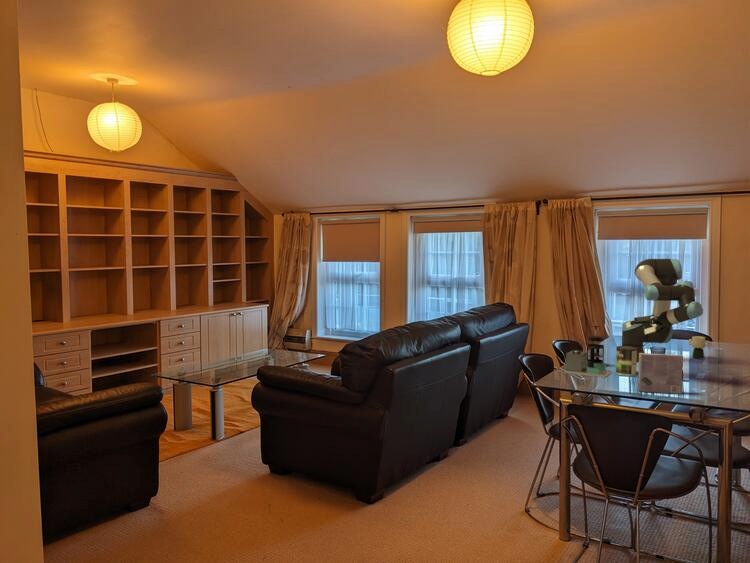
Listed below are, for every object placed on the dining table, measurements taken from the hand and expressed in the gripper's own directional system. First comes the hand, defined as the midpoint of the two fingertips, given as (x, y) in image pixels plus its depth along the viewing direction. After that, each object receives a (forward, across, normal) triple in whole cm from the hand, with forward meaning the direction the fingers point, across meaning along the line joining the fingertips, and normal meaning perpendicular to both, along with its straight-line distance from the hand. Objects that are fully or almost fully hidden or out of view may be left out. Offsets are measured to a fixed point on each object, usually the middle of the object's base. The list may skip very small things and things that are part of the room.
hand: (635, 328), depth 314 cm
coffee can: (+10, +2, -22) cm, 25 cm away
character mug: (+16, +71, +4) cm, 73 cm away
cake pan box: (-22, -14, -42) cm, 49 cm away
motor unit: (+21, -14, -23) cm, 34 cm away
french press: (+30, +1, -14) cm, 33 cm away
